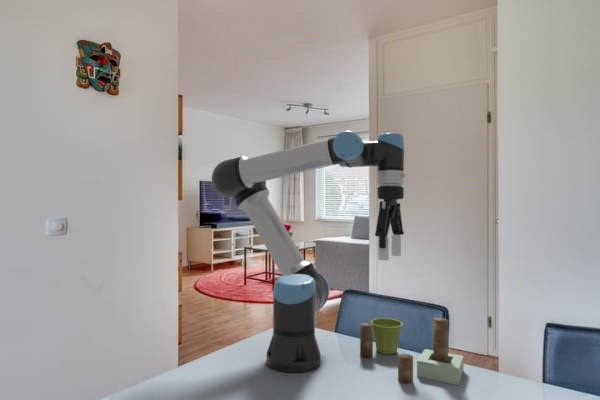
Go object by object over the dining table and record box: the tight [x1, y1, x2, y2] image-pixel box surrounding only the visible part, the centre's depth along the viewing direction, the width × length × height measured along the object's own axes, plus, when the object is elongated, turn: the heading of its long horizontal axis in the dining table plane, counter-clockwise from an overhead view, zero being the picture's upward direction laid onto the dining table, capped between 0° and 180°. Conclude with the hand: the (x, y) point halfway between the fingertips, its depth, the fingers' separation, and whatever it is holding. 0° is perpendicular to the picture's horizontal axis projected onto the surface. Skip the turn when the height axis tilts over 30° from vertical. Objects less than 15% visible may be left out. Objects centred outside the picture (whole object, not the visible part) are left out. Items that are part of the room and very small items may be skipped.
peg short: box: [397, 353, 414, 385], centre depth 97 cm, size 4×4×6 cm
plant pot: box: [370, 317, 404, 356], centre depth 117 cm, size 9×9×9 cm
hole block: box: [416, 348, 464, 386], centre depth 101 cm, size 10×10×4 cm
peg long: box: [432, 317, 449, 363], centre depth 101 cm, size 4×4×14 cm
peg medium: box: [359, 322, 374, 359], centre depth 113 cm, size 4×4×9 cm
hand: (390, 257), depth 114 cm, fingers open, 13 cm apart
